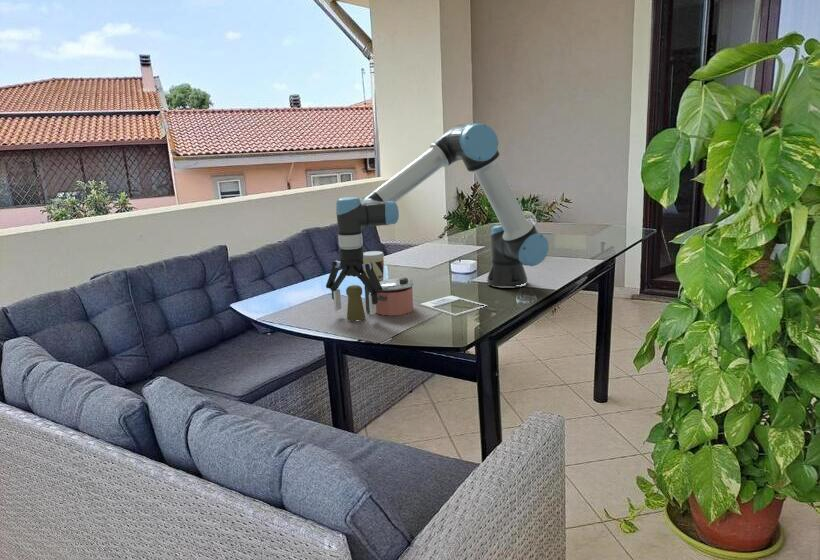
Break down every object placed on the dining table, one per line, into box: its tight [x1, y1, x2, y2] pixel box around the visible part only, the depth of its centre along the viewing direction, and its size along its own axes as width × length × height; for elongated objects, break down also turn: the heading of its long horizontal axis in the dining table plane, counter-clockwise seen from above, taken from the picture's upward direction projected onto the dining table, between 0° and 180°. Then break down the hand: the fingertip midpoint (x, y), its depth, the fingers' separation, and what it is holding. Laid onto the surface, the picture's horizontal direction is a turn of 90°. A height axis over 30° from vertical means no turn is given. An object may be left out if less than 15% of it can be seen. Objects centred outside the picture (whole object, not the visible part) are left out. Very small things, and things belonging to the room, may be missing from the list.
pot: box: [364, 278, 414, 317], centre depth 193 cm, size 14×16×9 cm
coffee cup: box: [363, 250, 385, 281], centre depth 231 cm, size 9×9×12 cm
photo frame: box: [419, 295, 488, 317], centre depth 195 cm, size 15×1×18 cm
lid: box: [379, 277, 414, 291], centre depth 191 cm, size 14×14×2 cm
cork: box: [345, 284, 366, 322], centre depth 185 cm, size 6×6×11 cm
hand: (355, 311), depth 186 cm, fingers open, 13 cm apart
